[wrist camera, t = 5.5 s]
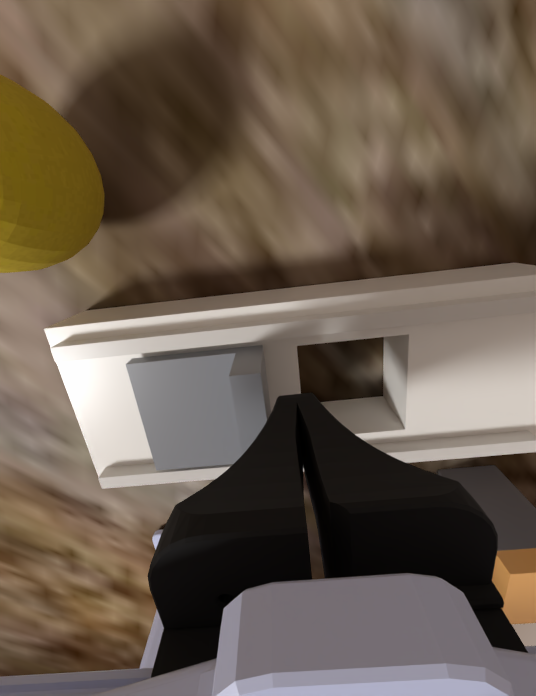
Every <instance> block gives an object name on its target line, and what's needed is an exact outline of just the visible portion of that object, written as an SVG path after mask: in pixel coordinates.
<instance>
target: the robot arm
mask: <svg viewBox="0 0 536 696" xmlns="http://www.w3.org/2000/svg"><path fill="white" fill-rule="evenodd" d="M303 468H304V472H305V476H306V481H307V485H308V489H309V493H310V497H311V501H312V505H313V510H314V514H315V518H316V523H317V528H318V533H319V540H320V547H321V554H322V561H323V568H324V575H325V579H313V580H312V575H311V564H310V554H309V544H308V533H307V524H306V516H305V508H304V493H303ZM152 539H153V543H154V547H155V550H156V551H155V553H154V556H153V559H152V562H151V564H150V569H149V573H148V581H149V587H150V591H151V593H152V596H153V599H154V602H155V605H156V608H157V611H156V614H155V618H154V621H153V624H152V628H151V631H150V634H149V638H148V641H147V644H146V648H145V651H144V655H143V658H142V661H141V665H140V668H139V669H123V670H106V671H88V672H71V673H53V674H36V675H18V676H1V677H0V696H536V646H524V645H523V643H522V642H521V640H520V638H519V636H518V635H517V633H516V632H515V630H514V628H513V627H512V625H511V623H510V622H509V620H508V618H507V617H506V615H505V613H504V612H503V610H502V609H501V608H503V607H504V601H503V598H502V596H501V594H500V593H499V591H498V590H497V588H496V587H495V585H494V583H493V582H492V577H493V571H494V566H495V560H496V555H497V550H498V534H497V532H496V529H495V527H494V524H493V523H492V521H491V520H490V519H489V517H488V516H487V515H486V513H485V512H484V511H483V509H482V508H481V507H480V505H479V504H478V503H477V502H476V500H475V499H474V498H473V497H472V496H471V495H470V494H469V492H468V491H467V490H466V489H465V488H464V487H463V486H462V485H461V484H460V482H458V481H455V480H452V479H449V478H446V477H443V476H440V475H437V474H434V473H431V472H428V471H425V470H422V469H420V468H417V467H415V466H412V465H410V464H407V463H405V462H403V461H401V460H398V459H396V458H394V457H392V456H390V455H388V454H386V453H384V452H382V451H381V450H379V449H377V448H375V447H373V446H372V445H370V444H368V443H367V442H365V441H364V440H362V439H361V438H359V437H358V436H356V435H355V434H354V433H352V432H351V431H350V430H349V429H347V428H346V427H345V426H344V425H343V424H341V423H340V422H339V421H338V420H337V419H336V418H335V417H334V416H333V415H332V414H331V413H330V412H329V411H328V410H327V409H326V408H325V407H324V406H323V405H322V404H321V402H320V401H319V400H318V399H317V397H316V396H315V395H314V394H313V393H303V394H293V395H282V396H279V397H278V398H277V399H276V403H275V405H274V408H273V410H272V412H271V414H270V416H269V418H268V420H267V421H266V423H265V425H264V427H263V428H262V430H261V431H260V433H259V434H258V436H257V437H256V439H255V440H254V441H253V443H252V444H251V445H250V447H249V448H248V449H247V450H246V451H245V453H244V454H243V455H242V456H241V457H240V458H239V459H238V460H237V461H236V462H235V463H234V464H233V465H232V466H231V467H230V468H229V469H228V470H226V471H225V472H224V473H223V474H222V475H220V476H219V477H218V478H217V479H215V480H214V481H213V482H211V483H210V484H209V485H207V486H206V487H204V488H203V489H201V490H200V491H198V492H196V493H195V494H193V495H192V496H190V497H188V498H187V499H185V500H184V501H182V502H180V503H178V504H177V505H176V506H175V507H174V509H173V511H172V513H171V515H170V517H169V519H168V521H167V523H166V525H165V527H164V529H163V530H157V531H156V532H155V533H154V536H153V538H152Z"/></svg>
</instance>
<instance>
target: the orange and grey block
mask: <svg viewBox="0 0 536 696" xmlns="http://www.w3.org/2000/svg"><path fill="white" fill-rule="evenodd" d="M438 475H440V476H443V477H446V478H449V479H452V480H455V481H458V482H460V484H461V485H462V486H463V487H464V488H465V489H466V490H467V491H468V492H469V494H470V495H471V496H472V497H473V498H474V499H475V500H476V502H477V503H478V504H479V505H480V507H481V508H482V509H483V511H484V512H485V513H486V515H487V516H488V517H489V519H490V520H491V521H492V523H493V524H494V527H495V529H496V532H497V534H498V550H497V555H496V560H495V566H494V571H493V577H492V582H493V583H494V585H495V587H496V588H497V590H498V591H499V593H500V594H501V596H502V598H503V601H504V607H503V608H501V609H502V610H503V612H504V613H505V615H506V617H507V618H508V620H509V622H510V623H511V624H525V623H536V508H535V507H534V506H533V505H532V504H531V503H530V502H529V501H528V500H527V499H526V497H525V496H524V495H523V494H522V493H521V492H520V491H519V490H518V489H517V488H516V487H515V486H514V485H513V484H512V483H511V482H510V481H509V480H508V478H507V477H506V476H505V475H504V474H503V473H502V472H501V471H500V470H499V469H498V468H497V467H496V466H495V465H490V466H478V467H466V468H454V469H442V470H438Z"/></svg>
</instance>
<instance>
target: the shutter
mask: <svg viewBox="0 0 536 696" xmlns="http://www.w3.org/2000/svg"><path fill="white" fill-rule="evenodd" d="M126 368H127V371H128V374H129V378H130V381H131V385H132V388H133V392H134V395H135V399H136V402H137V406H138V409H139V413H140V416H141V419H142V423H143V426H144V430H145V433H146V437H147V440H148V444H149V447H150V451H151V454H152V457H153V461H154V464H155V468H156V471H157V470H169V469H180V468H192V467H203V466H215V465H226V464H234V463H235V462H236V461H237V460H238V459H239V458H240V457H241V456H242V455H243V454H244V453H245V451H246V450H247V449H248V448H249V447H250V445H251V444H252V443H253V441H254V440H255V439H256V437H257V436H258V434H259V433H260V431H261V430H262V428H263V427H264V425H265V423H266V421H267V420H268V418H269V416H270V414H271V406H270V398H269V391H268V383H267V375H266V367H265V359H264V351H263V345H256V346H247V347H237V348H228V349H218V350H208V351H199V352H189V353H179V354H170V355H160V356H150V357H141V358H132V359H131V360H130V361H129V362H128V363H127V364H126Z"/></svg>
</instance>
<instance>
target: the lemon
mask: <svg viewBox="0 0 536 696" xmlns="http://www.w3.org/2000/svg"><path fill="white" fill-rule="evenodd" d="M104 196H105V194H104V189H103V183H102V178H101V175H100V172H99V170H98V167H97V165H96V162H95V160H94V157H93V155H92V153H91V152H90V150H89V149H88V147H87V146H86V144H85V143H84V141H83V140H82V138H81V137H80V135H79V134H78V133H77V131H76V130H75V129H74V128H73V127H72V126H71V125H70V124H69V123H68V122H67V121H66V120H65V119H64V118H63V117H62V116H61V115H60V114H59V113H58V112H57V111H56V110H54V109H53V108H52V107H51V106H50V105H49V104H48V103H46V102H45V101H44V100H42V99H41V98H39V97H37V96H36V95H34V94H33V93H31V92H29V91H28V90H26V89H25V88H23V87H22V86H20V85H18V84H17V83H15V82H13V81H12V80H10V79H8V78H6V77H4V76H2V75H0V273H10V272H21V271H31V270H39V269H44V268H47V267H50V266H52V265H55V264H57V263H60V262H62V261H65V260H67V259H69V258H71V257H73V256H74V255H75V254H77V253H78V252H79V251H80V250H81V249H83V248H84V247H85V246H86V245H88V244H89V242H90V241H91V239H92V238H93V236H94V235H95V233H96V232H97V230H98V228H99V226H100V222H101V219H102V216H103V213H104Z"/></svg>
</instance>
